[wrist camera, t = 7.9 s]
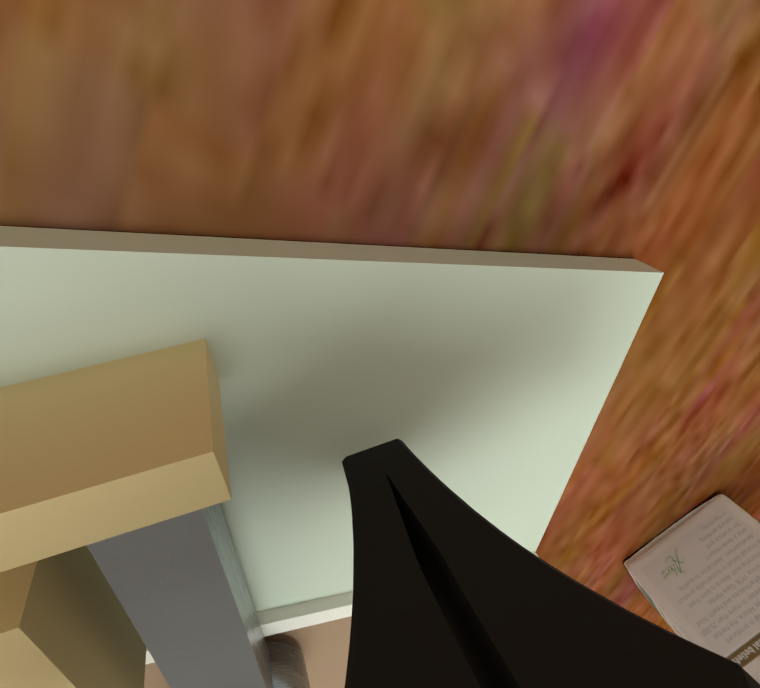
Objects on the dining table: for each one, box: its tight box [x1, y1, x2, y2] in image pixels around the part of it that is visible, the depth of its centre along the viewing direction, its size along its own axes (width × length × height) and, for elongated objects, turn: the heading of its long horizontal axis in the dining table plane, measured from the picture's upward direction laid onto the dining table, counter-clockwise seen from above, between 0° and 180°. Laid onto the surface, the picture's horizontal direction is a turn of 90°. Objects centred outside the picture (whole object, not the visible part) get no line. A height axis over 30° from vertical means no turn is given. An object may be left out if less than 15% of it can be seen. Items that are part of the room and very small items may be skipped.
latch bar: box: [87, 503, 310, 688], centre depth 12 cm, size 12×4×3 cm, turn 1°
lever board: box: [0, 226, 664, 688], centre depth 13 cm, size 16×18×5 cm
